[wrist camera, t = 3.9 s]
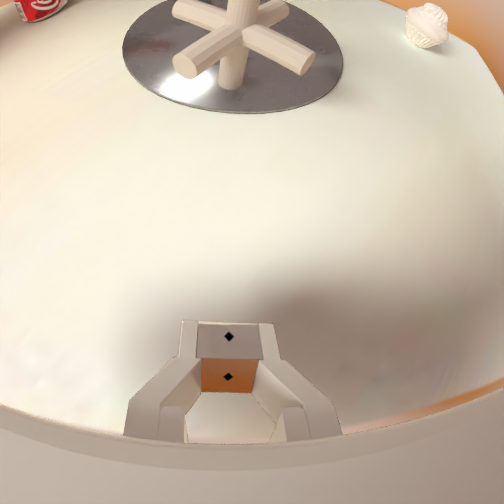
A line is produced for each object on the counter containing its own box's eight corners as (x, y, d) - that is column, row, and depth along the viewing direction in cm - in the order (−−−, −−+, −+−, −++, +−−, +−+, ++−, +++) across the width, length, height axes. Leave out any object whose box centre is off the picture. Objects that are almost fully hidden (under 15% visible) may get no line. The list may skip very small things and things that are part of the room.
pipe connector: (219, 32, 22) (232, -62, 12) (317, 82, 22) (364, -14, 12) (135, 92, 19) (116, -23, 9) (246, 158, 19) (284, 30, 9)
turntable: (92, 111, 18) (91, 108, 18) (153, -10, 23) (153, -12, 23) (358, 133, 21) (360, 131, 21) (325, 8, 26) (326, 6, 26)
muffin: (406, 24, 29) (427, -8, 22) (440, 52, 29) (464, 21, 22) (389, 29, 27) (412, -8, 21) (426, 60, 27) (454, 24, 20)
